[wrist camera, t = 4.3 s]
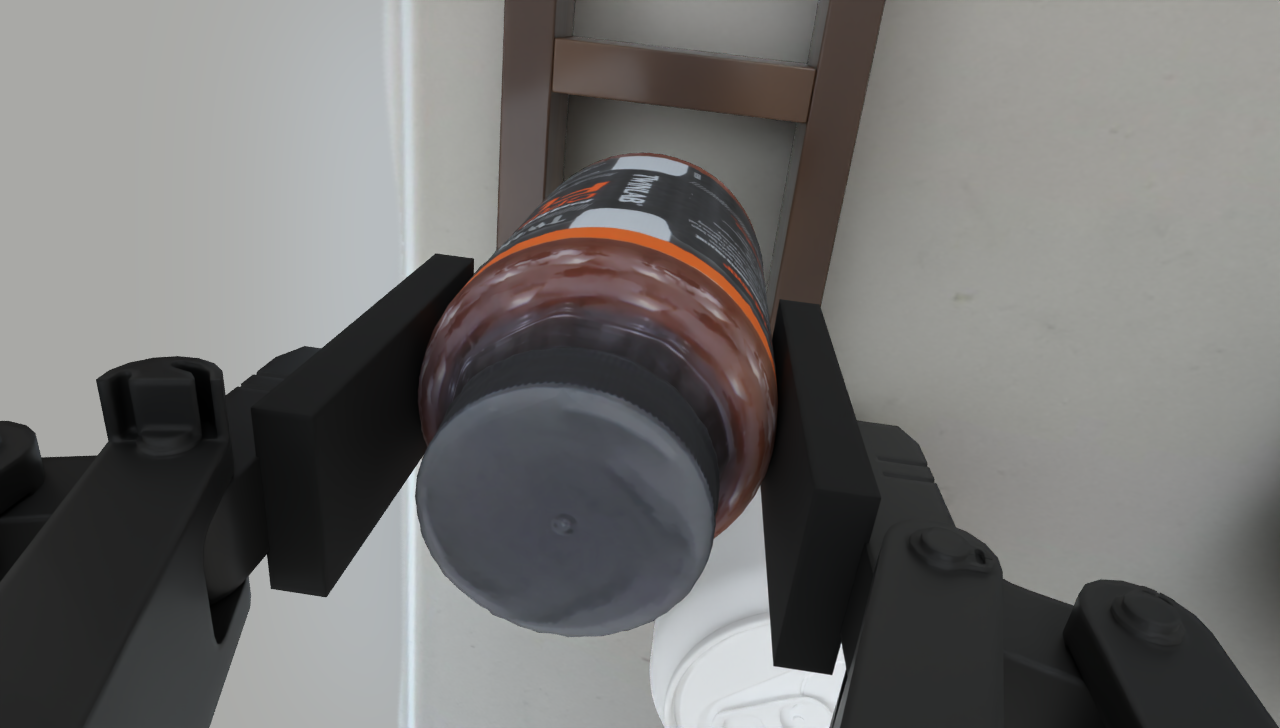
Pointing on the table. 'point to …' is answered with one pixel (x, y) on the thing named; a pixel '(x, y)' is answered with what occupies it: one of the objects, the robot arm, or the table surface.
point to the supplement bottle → (599, 400)
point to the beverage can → (733, 648)
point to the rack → (789, 91)
